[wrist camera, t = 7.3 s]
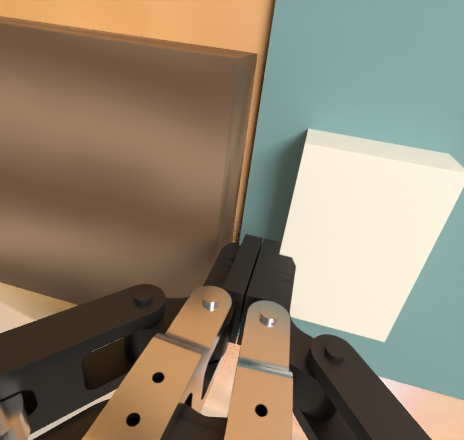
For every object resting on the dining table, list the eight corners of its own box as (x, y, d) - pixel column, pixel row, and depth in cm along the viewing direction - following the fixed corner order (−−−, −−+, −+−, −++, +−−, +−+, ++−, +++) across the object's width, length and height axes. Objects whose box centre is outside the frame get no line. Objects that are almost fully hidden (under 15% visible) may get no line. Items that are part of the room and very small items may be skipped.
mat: (281, -30, 13) (280, -32, 13) (862, 30, 10) (881, 30, 10) (227, 328, 23) (225, 332, 23) (513, 408, 20) (516, 415, 20)
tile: (470, 174, 12) (449, 153, 14) (305, 143, 13) (308, 128, 15) (384, 342, 17) (378, 307, 19) (266, 310, 18) (273, 280, 20)
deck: (-110, 0, 18) (-215, -9, 14) (257, 53, 15) (236, 58, 11) (-36, 225, 25) (-93, 254, 21) (224, 293, 22) (205, 341, 18)
